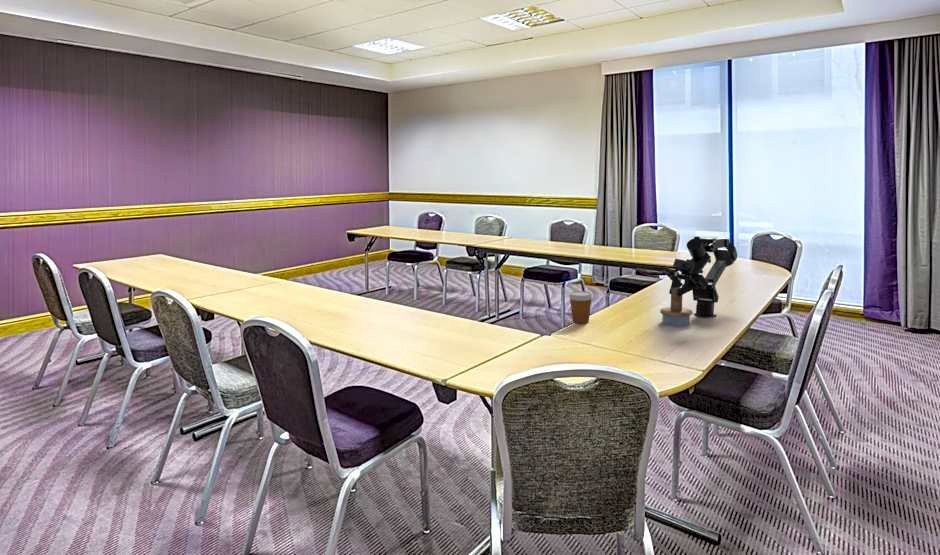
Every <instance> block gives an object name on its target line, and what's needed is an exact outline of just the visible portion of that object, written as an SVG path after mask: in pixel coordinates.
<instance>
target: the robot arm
mask: <svg viewBox="0 0 940 555" xmlns="http://www.w3.org/2000/svg"><path fill="white" fill-rule="evenodd" d="M686 248H687V250H688V252H689V254H690V255H689V256H691V258H690V259H688V258H687V259H686V260H684V259H681V258H680V259H679V258H675V259H674V261H673V264H672V267H674V268H667V269H666V270H665V272H664V274H666V276H667V277H668V278H669V280H670V281H671V285H670V288H669V292H668V294H670V295H671V288H674V287H679V288H681V289H680V290H679V292H678V294H677V295H678V296H681V295H682V296H683V295H685V294H687V293H688V292H691V291H692V298H693V301H696V306H695V308H696V309H695V312H694V313H693V315H694V316H698V317H701V318H704V319H705V318H712V317H717V316H718V315H717V314H716V313H715V303H719V297H720V296H719V293H718V291H717V289H716V285H717V283H718V281H719V280H720V278H721V276H722V275H723V273H724V271H725V270H726V268H727V267H730V266H733V264H734V263H735V262H736V260H737V259H738V252H737V247H736V246H735V245H733V243H731V241H730V239H729V238H728V237H719V236H718V237H715V238H713V237H701V236H693V238H691V239H689V241H687V242H686ZM709 253H712V254H713V256H714V258H715V259H714V260H715V261H714V263H713V264H712V266H711V267H710V268H709V269H710V270H709V271H708V273H707V274H706V276H704V275H703V273H704V270H703V269H704V267H705V266H707V264H708V263H709V264H711V262H712V259H711V258H712V257H711V255H710V254H709ZM675 268H676V269H675ZM677 269H678V270H677ZM682 280H684V282H682Z"/></svg>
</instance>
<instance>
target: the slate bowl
mask: <svg viewBox="0 0 940 555" xmlns="http://www.w3.org/2000/svg"><path fill="white" fill-rule="evenodd" d="M661 318H662V320H661V322H662V324H664V325H667V326H672V325H673V327H684V326H688V325H690V323H691V322H690V320H691V315H689V316H668V315H664V314H662V316H661Z"/></svg>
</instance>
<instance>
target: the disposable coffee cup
mask: <svg viewBox="0 0 940 555" xmlns="http://www.w3.org/2000/svg"><path fill="white" fill-rule="evenodd" d="M593 298H594V296H593V294H592V292H590V291H584V290H579V291H578V290H577V291H576V290H575V291H571V292H570V293H569V295H568V299H569V301H570V303H569V304H570V310H571V315H572V319H571V320H572V323H574V324H576V325H585V324H589V321H590V314H591V306H592V299H593ZM577 323H578V324H577Z"/></svg>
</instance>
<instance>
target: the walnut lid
mask: <svg viewBox="0 0 940 555" xmlns="http://www.w3.org/2000/svg"><path fill="white" fill-rule="evenodd" d="M670 288H671V287H670ZM680 289H681V287H680V288H679V287H674V288H671V294H670V307H663V308H660V310H659V313H660V314H664V315H668V316H689V315H690V316H692V315H693V310H692V309H689V308H685V307H683V295H681V296H678V295H677V294H678V292H679V290H680Z"/></svg>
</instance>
